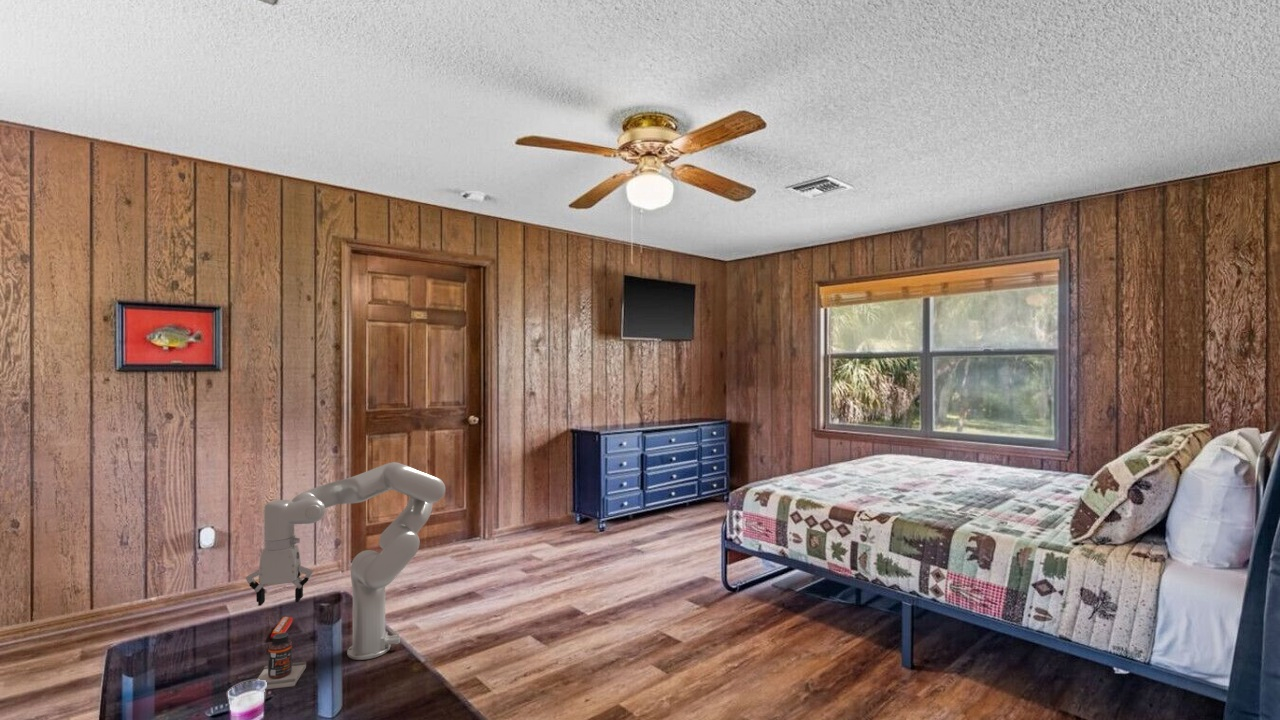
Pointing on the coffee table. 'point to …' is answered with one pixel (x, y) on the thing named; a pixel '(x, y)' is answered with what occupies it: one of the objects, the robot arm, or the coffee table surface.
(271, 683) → the mat
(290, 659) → the supplement bottle
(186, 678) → the coffee table surface
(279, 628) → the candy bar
